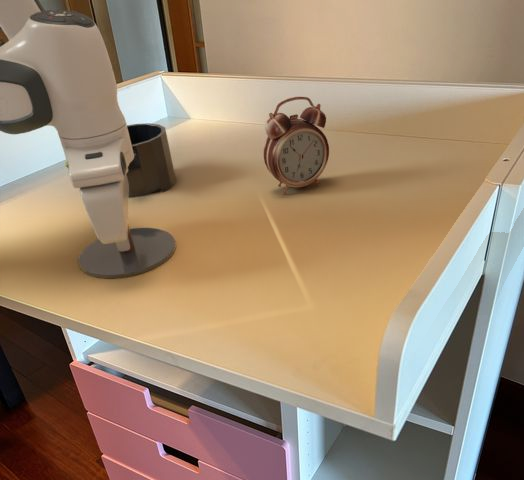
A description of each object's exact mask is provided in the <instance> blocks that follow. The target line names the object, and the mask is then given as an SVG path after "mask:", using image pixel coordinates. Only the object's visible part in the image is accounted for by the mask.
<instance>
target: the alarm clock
mask: <svg viewBox="0 0 524 480" xmlns="http://www.w3.org/2000/svg"><path fill="white" fill-rule="evenodd" d="M297 100H305V101H308V103H309V105H310V106H309V107H306V108H305V109H304V110H303V111H302V113H301V114H300V116H299V114H292V115H289V116H288V115H287V114H286V113H283V112H279V109H280V108H281V106H283V105H284V104H286V103H290V102H293V101H297ZM321 105H322V104H320V103H318V104H316V105H314V103H313V102H312V100H311V99H310V98H309V97H307V96H294V97H289V98H286V99H284V100H282V101H280V102H279V103H277V105H276V108H275V110H274V112H273V113H272V112H269V113H268V119H267V120H266V122H265V125H264V129H265V134H266V135H267V138H266V139H265V143H264V146H263V160H264V165H265V166H266V169H267V170H268V172H269V173H270V174H271V176H272V177H274V179H276V181H278V182H279V184H278V188H281V187H282V184H283V185H285V186H284V189H283V191H282V194H283V195H286V194H287V191H288V189H289V187H291V188H303V187H306V186H309V185H310V184H312V183H314V182H315V184H316V186H317V187H319V186H320V185H321V183H320V182H319V181H318V178H319V177H321V175H322V174H323V172H324V170H325V169H326V167H327V164H328V161H329V157H330V146H329V141H328V139H327V137H326V135H325V134H324V132H323V131H322V130H321V129H320V128H322V129H325V127H326V123H327V117H326V116H327V115H326V114H325V112H323V110H322V109H321Z"/></svg>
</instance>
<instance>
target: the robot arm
mask: <svg viewBox="0 0 524 480" xmlns="http://www.w3.org/2000/svg"><path fill="white" fill-rule="evenodd" d="M0 29H1V30H2V32H3V33H4V35H5V36H6V37H7V39H8V41H6V42H5V43H4V44H2V45H1V46H0V132H1V133H4V134H8V135H20V134H21V135H22V134H27V133H30V132H33V131H36V130H38V129H41V128H44V127H49V126H50V127H53V128H54V129H55V130H56V132H57V135H58V138H59V141H60V144H61V147H62V150H63V154H64V157H65V161H67V163H68V167H69V168H68V174H69V178H70V182H71V185H72V187H73V188H74V189H79V194H80V198H81V200H82V204H83V206H84V208H85V211H86V213H87V216H88V218H89V221H90V224H91V227H92V229H93V231H94V233H95V236H96V237H97V239H99V240H100V242H101V243H103V244H110V243H116V245H117V248H118V250H119V251H121V252H122V251H128V250H129V249H130V241H129V237H128V224H129V203H130V201H129V199H130V198H129V183H128V179H127V175H126V173H127V172H128V166H129V163H130V162H131V161H132V160H133V159H134V153H133V149H132V145H131V140H130V137H129V133H128V129H127V125H128V124H127V121H126V120H127V119H126V118H125V115H124V113H123V112H122V110H121V108H120V105H119V100H118V85H117V84H118V83H117V81H116V76H115V72H114V69H113V66H112V62H111V59H110V56H109V52H108V49H107V47H106V44H105V40H104V38H103V36H102V34H101V31H100V29H99V27H98V26H97V24H96V23H95V21H94V20H93V19H92V18H91V17H89V16H88V15H85V14H84V13H82V12H79V11H75V10H74V11H73V10H69V9H68V10H66V9H55V10H51V9H49V10H45V8H44V6H43V4H42V3H41V1H40V0H0Z"/></svg>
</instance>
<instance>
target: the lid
mask: <svg viewBox="0 0 524 480" xmlns="http://www.w3.org/2000/svg"><path fill="white" fill-rule="evenodd" d="M128 237H129V241H130V249H129V250H128V251H122V252H121V251H119V250H118V248H117V245H116V243H110V244H103V243H101V242H100V240H99V239H98V238H97V239H95V240H94V241H92V242H91V243H89V244H88V245H87V246H85V248H84V249H82V251H81V252H80V254H79V256H78V259H77V260H78V261H77V262H78V265H79V266H78V267H79V268H80V270H81V271H82V272H83V273H84V274H86V275H88V276H91V277H94V278H99V279H122V278H123V279H124V278H127V277H133V276H138V275H140V274H143V273H146V272H149V271H152V270H153V269H155V268H158V267H159V266H161V265H163V264H164V263H165V262H167V261H168V260H170V258H171V257H172V256H173V255H174V253H175V252H176V248H177V242H176V238H175V237H174V235H172V234H171V233H170V232H169V231H166V230H163V229H160V228H154V227H136V228H130V225H129V223H128Z"/></svg>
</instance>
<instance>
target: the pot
mask: <svg viewBox="0 0 524 480" xmlns="http://www.w3.org/2000/svg"><path fill="white" fill-rule="evenodd" d="M127 129H128V133H129V137H130V140H131V145H132V149H133V153H134V159H133V160H132V161H131V162H130V163H129V166H128V172H127V173H126V175H127V179H128V183H129V199H130V198H136V197H142V196H143V197H144V196H148V195H154V194H159V193H164V192H166V191H168V190H170V189H171V188H172V187H174V186H175V184H176V181H177V178H176V173H175V168H174V163H173V158H172V153H171V149H170V143H169V140H168V134H167V129H166V127H165V126H163V125H161V124H158V123H149V122H148V123H133V124H127Z"/></svg>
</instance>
